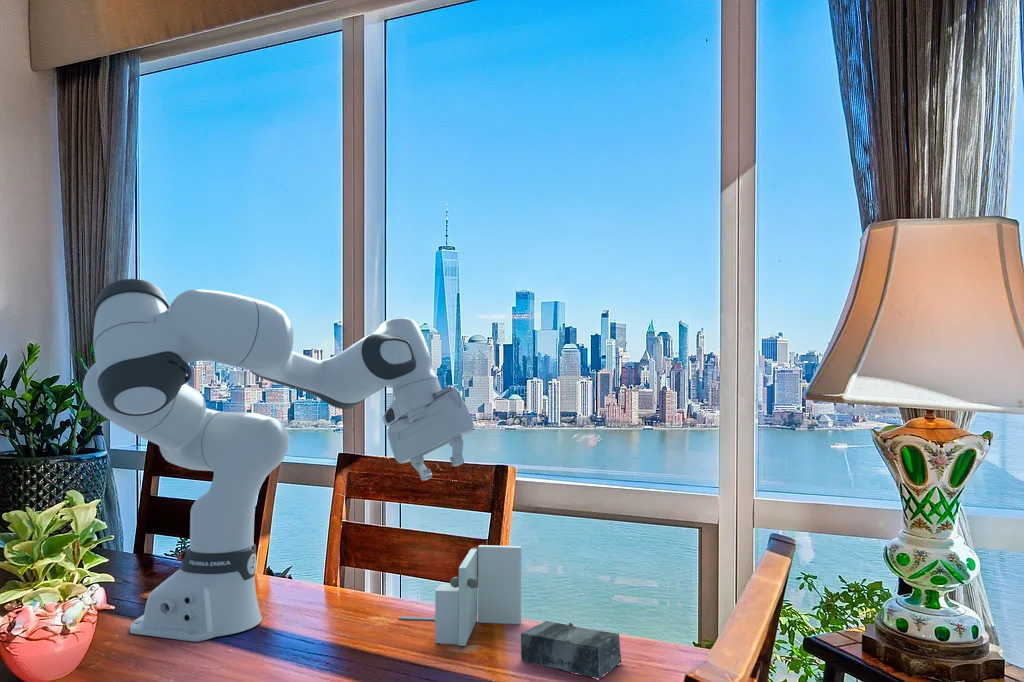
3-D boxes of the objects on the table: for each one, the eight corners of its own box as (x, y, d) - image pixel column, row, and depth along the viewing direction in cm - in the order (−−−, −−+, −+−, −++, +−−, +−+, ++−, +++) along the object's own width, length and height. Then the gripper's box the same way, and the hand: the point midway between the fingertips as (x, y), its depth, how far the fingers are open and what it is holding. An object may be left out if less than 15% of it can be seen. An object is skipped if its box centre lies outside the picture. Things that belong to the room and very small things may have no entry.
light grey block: (458, 644, 132) (458, 591, 133) (435, 643, 133) (435, 590, 133) (462, 636, 136) (462, 584, 137) (439, 635, 137) (440, 584, 137)
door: (476, 646, 130) (476, 568, 130) (447, 645, 130) (448, 567, 131) (487, 617, 145) (487, 547, 145) (461, 617, 145) (462, 547, 145)
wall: (398, 619, 145) (399, 544, 145) (400, 617, 146) (400, 542, 147) (520, 624, 143) (520, 547, 143) (521, 621, 144) (521, 546, 144)
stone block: (549, 646, 133) (549, 615, 133) (625, 664, 124) (625, 631, 125) (520, 662, 125) (520, 629, 125) (599, 682, 117) (599, 647, 117)
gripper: (467, 380, 140) (491, 452, 137) (402, 416, 153) (423, 483, 150) (442, 383, 136) (466, 458, 132) (377, 420, 149) (397, 490, 145)
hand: (442, 472), depth 141 cm, fingers open, 8 cm apart
